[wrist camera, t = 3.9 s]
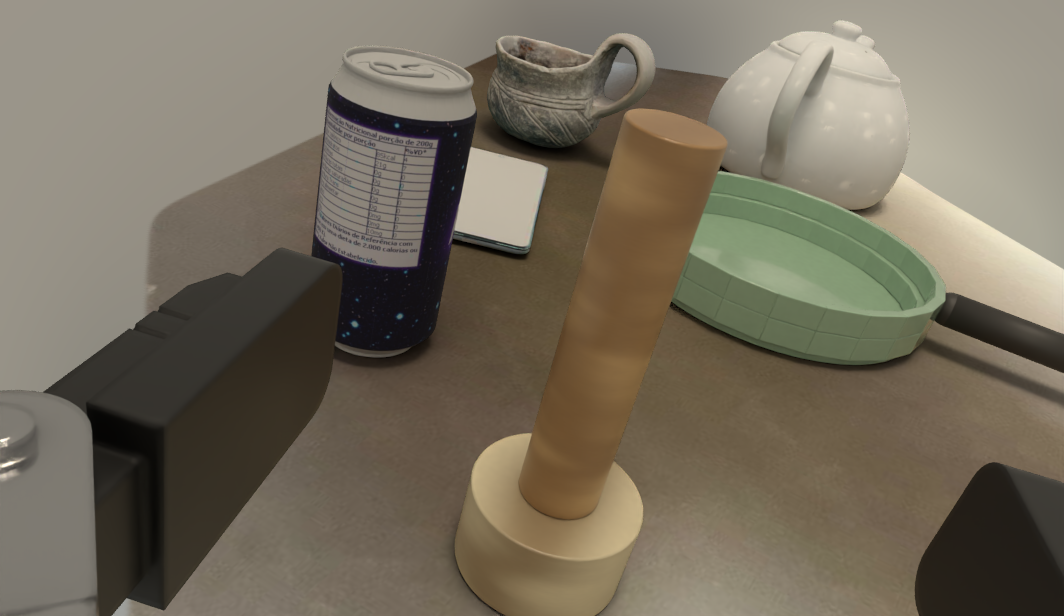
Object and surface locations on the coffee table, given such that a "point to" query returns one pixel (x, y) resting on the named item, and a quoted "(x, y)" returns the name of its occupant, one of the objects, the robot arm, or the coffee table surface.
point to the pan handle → (1003, 330)
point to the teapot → (816, 117)
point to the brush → (591, 389)
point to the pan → (806, 276)
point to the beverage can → (392, 191)
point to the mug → (560, 88)
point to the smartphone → (500, 201)
